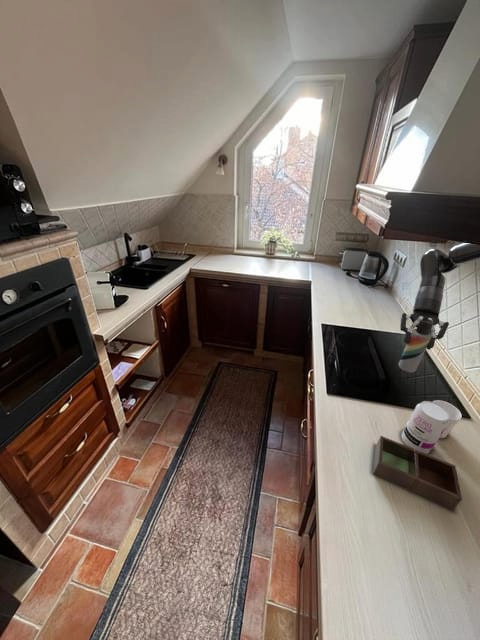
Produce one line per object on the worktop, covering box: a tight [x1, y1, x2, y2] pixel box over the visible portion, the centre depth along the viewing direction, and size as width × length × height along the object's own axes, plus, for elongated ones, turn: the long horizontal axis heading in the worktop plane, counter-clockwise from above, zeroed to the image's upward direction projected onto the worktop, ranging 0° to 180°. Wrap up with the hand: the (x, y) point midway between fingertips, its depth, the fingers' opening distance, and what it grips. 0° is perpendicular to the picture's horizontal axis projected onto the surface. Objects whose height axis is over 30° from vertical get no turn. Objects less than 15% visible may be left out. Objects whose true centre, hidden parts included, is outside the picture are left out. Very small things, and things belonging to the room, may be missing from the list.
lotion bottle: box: [398, 318, 434, 373], centre depth 88 cm, size 6×6×20 cm
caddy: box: [372, 435, 463, 511], centre depth 70 cm, size 18×10×6 cm, turn 61°
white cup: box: [432, 399, 462, 439], centre depth 82 cm, size 8×8×10 cm
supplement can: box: [401, 400, 449, 454], centre depth 77 cm, size 8×8×15 cm
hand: (417, 346), depth 86 cm, fingers closed on lotion bottle, 5 cm apart
